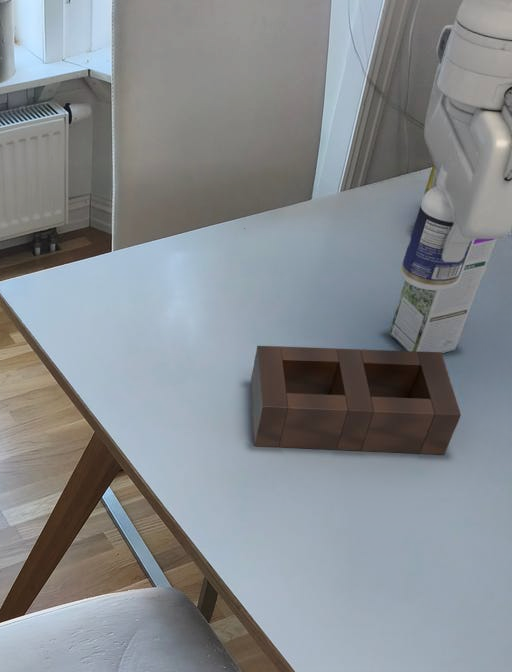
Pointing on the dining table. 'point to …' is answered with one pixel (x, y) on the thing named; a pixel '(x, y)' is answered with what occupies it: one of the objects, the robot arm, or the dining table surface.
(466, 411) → the dining table surface
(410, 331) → the syrup box
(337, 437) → the socket block
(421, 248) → the pill bottle
